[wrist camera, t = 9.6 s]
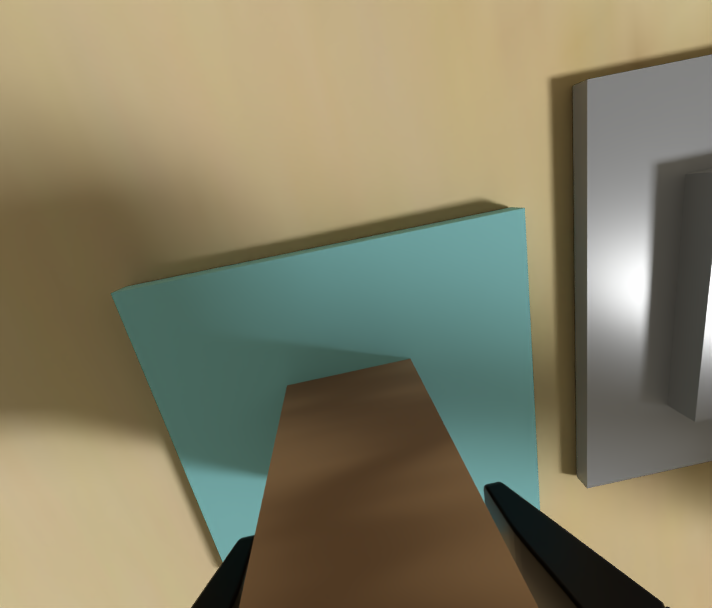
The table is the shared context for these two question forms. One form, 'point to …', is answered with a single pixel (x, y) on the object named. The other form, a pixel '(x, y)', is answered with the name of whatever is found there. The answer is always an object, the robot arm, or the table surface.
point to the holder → (643, 270)
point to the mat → (342, 350)
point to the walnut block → (374, 505)
